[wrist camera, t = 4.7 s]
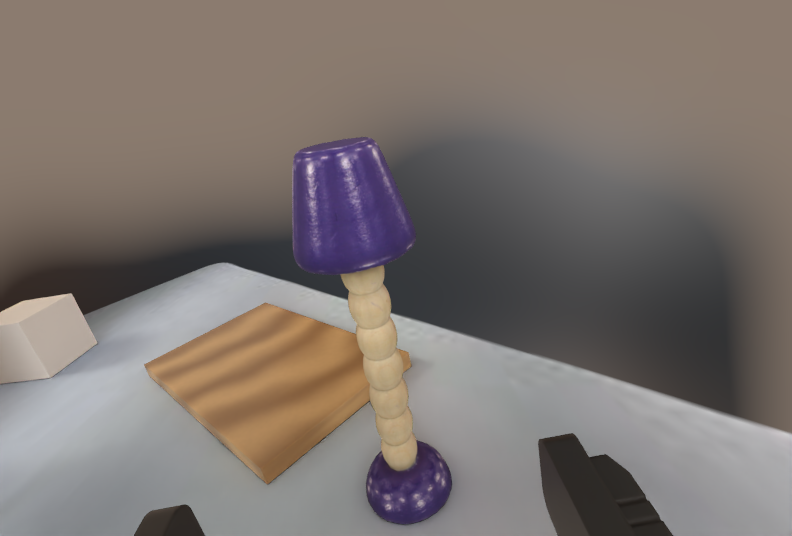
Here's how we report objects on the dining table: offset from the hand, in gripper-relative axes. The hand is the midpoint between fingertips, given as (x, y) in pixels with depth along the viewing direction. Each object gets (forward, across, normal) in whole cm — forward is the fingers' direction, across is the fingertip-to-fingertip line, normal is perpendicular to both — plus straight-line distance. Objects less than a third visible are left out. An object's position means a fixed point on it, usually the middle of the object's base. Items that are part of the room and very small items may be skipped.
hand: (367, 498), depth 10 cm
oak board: (+22, +10, +10) cm, 26 cm away
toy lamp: (+8, 0, +10) cm, 13 cm away
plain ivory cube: (+32, +36, +10) cm, 48 cm away
